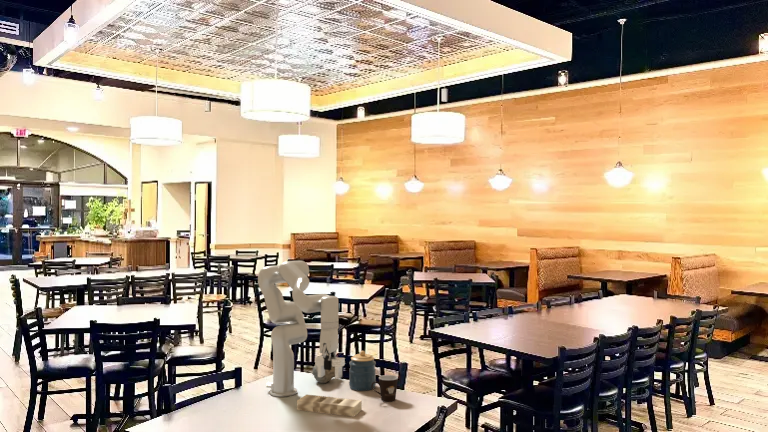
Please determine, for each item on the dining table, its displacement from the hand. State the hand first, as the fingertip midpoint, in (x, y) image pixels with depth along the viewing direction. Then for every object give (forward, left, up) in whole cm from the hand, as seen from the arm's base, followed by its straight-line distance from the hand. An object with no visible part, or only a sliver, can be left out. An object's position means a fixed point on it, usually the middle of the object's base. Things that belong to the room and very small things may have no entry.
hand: (329, 367), depth 248 cm
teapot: (-20, +39, -18) cm, 48 cm away
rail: (0, 0, -18) cm, 18 cm away
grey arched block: (0, 0, -4) cm, 4 cm away
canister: (+1, +36, -18) cm, 40 cm away
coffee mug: (+18, +21, -18) cm, 33 cm away
